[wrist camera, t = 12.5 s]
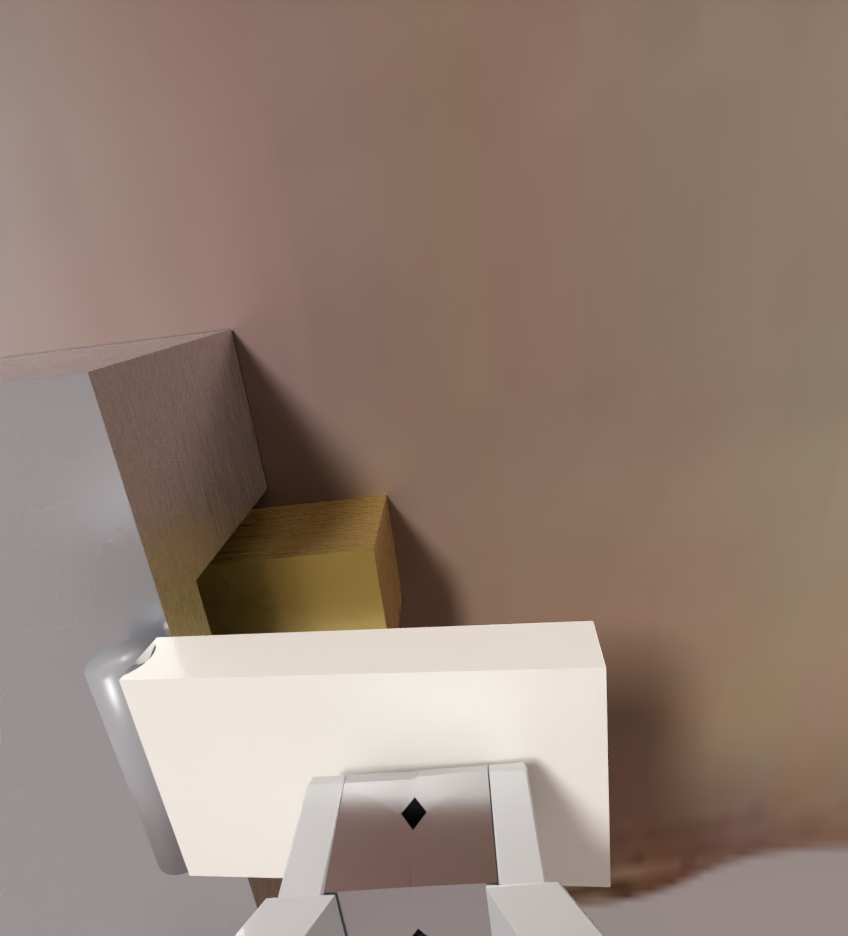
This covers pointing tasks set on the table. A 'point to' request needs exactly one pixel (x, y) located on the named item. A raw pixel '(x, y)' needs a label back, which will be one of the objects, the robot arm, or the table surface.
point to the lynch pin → (305, 570)
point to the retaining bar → (352, 731)
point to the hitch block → (107, 614)
